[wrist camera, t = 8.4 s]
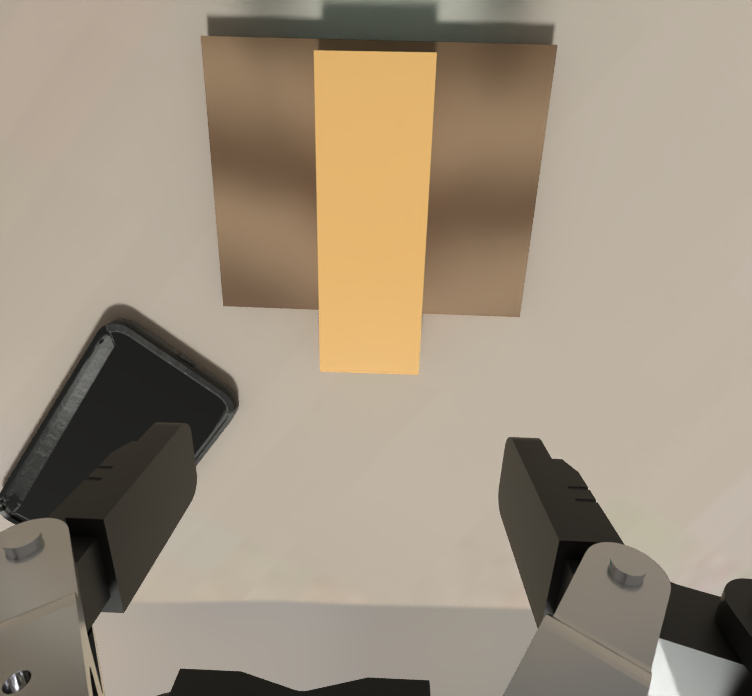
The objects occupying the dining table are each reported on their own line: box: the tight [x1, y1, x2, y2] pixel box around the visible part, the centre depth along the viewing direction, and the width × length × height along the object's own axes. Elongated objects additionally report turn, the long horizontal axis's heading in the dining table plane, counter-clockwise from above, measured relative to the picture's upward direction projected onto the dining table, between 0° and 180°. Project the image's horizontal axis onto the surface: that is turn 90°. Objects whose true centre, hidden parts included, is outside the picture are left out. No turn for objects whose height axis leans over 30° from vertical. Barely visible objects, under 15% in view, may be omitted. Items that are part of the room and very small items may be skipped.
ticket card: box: [314, 50, 437, 375], centre depth 20 cm, size 13×5×1 cm, turn 179°
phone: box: [0, 319, 239, 525], centre depth 26 cm, size 8×1×15 cm
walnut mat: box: [201, 36, 557, 317], centre depth 21 cm, size 11×14×1 cm
